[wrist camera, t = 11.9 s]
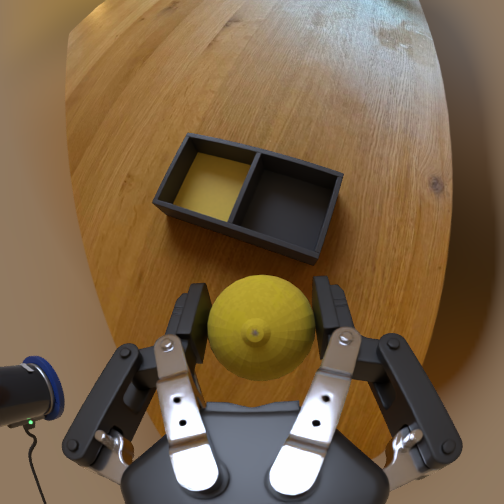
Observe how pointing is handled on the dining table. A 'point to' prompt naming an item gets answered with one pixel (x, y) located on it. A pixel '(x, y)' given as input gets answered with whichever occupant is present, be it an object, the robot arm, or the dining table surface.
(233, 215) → the sorter
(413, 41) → the dining table surface
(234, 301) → the lemon
